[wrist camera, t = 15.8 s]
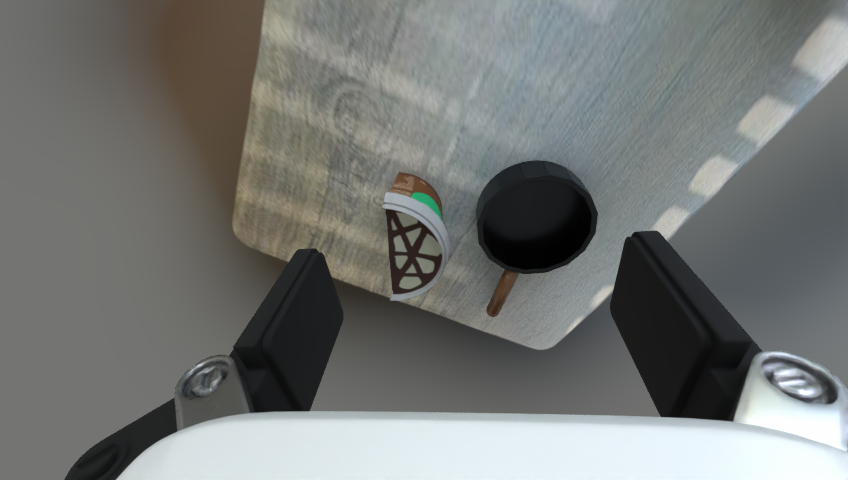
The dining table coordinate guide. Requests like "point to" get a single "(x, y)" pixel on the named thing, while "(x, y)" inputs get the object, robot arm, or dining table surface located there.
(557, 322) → the dining table surface
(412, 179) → the food container
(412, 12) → the dining table surface
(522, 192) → the pan
